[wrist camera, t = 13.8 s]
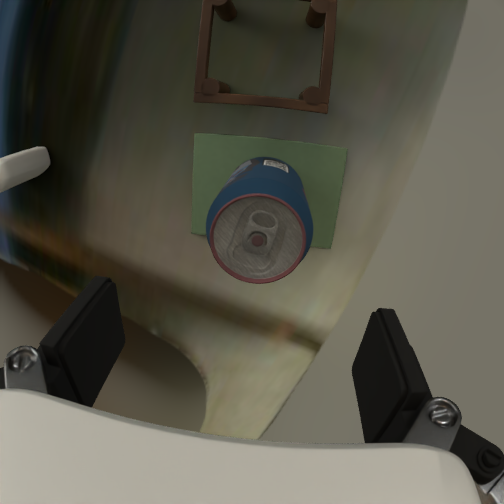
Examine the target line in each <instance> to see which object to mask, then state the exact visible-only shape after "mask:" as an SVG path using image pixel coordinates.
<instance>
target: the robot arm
mask: <svg viewBox="0 0 504 504" xmlns="http://www.w3.org/2000/svg"><path fill="white" fill-rule="evenodd" d="M124 344H125V334H124V329H123V324H122V319H121V313H120V308H119V302H118V296H117V289H116V284H115V283H114V282H112V280H111V279H110V278H107V277H101V276H95V277H94V278H93V279H92V281H91V282H90V283H89V284H88V285H87V286H86V287H85V289H84V290H83V291H82V292H81V293H80V294H79V295H78V297H77V298H76V299H75V300H74V301H73V303H72V304H71V305H70V306H69V307H68V308H67V310H66V311H65V312H64V313H63V314H62V316H61V317H60V318H59V319H58V321H57V322H56V323H55V324H54V326H53V327H52V328H51V329H50V331H49V332H48V333H47V334H46V336H45V337H44V338H43V339H42V341H41V342H40V346H39V347H38V349H36V348H33V347H32V346H20V347H17V348H15V349H13V350H12V351H10V352H9V353H8V354H7V356H6V358H5V360H4V367H3V368H0V504H504V455H503V452H502V451H501V450H500V449H499V448H498V447H497V446H496V445H494V444H493V443H491V442H489V441H488V440H486V439H484V438H482V437H481V436H479V435H477V434H476V433H474V432H473V431H471V430H469V429H468V428H466V427H464V426H463V425H461V419H462V416H461V412H460V410H459V408H458V406H457V405H456V404H455V403H453V402H452V401H451V400H449V399H447V398H444V397H435V398H433V397H432V395H431V392H430V389H429V387H428V384H427V382H426V379H425V377H424V374H423V372H422V369H421V367H420V364H419V362H418V359H417V357H416V355H415V352H414V350H413V348H412V347H411V346H410V344H409V342H408V340H407V338H406V335H405V333H404V330H403V328H402V326H401V324H400V322H399V319H398V317H397V315H396V313H395V311H394V310H393V309H384V308H378V309H377V311H376V312H372V314H371V316H370V320H369V322H368V325H367V328H366V331H365V334H364V336H363V339H362V342H361V344H360V347H359V350H358V352H357V355H356V357H355V360H354V363H353V366H352V376H353V381H354V386H355V390H356V396H357V401H358V406H359V411H360V417H361V423H362V429H363V434H364V440H365V443H362V444H321V443H320V444H319V443H292V442H275V441H263V440H253V439H243V438H234V437H226V436H219V435H212V434H205V433H199V432H193V431H187V430H182V429H176V428H171V427H166V426H161V425H157V424H152V423H148V422H143V421H139V420H135V419H131V418H127V417H123V416H119V415H115V414H112V413H108V412H105V411H101V410H98V409H94V408H92V406H93V404H94V402H95V400H96V398H97V396H98V394H99V392H100V390H101V388H102V386H103V384H104V382H105V381H106V379H107V377H108V375H109V373H110V371H111V369H112V367H113V365H114V363H115V362H116V360H117V358H118V356H119V354H120V352H121V350H122V349H123V347H124Z"/></svg>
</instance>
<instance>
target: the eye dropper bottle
mask: <svg viewBox="0 0 504 504" xmlns="http://www.w3.org/2000/svg"><path fill="white" fill-rule="evenodd" d="M49 165H50V158H49V154H48V151H47V149H46V148H45V147H34V148H31V149H27V150H24V151H21V152H18V153H14V154H11V155H8V156H5V157H2V158H0V193H1V192H3V191H5V190H7V189H9V188H11V187H14V186H16V185H18V184H20V183H23V182H25V181H27V180H30V179H32V178H34V177H37V176H39V175H40V174H42V173H43V172H44V171H45V170H46V169H47V168H48V167H49Z"/></svg>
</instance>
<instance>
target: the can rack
mask: <svg viewBox="0 0 504 504" xmlns="http://www.w3.org/2000/svg"><path fill="white" fill-rule="evenodd" d="M301 1H309V2H311V4H310V7H309V10H308V14H307V17H306V22H307V24H308V25H309V26H310V27H313V28H319V27H321V26H322V25H323V23H324V33H323V45H322V57H321V68H320V79H319V88H318V87H314V86H312V87H308V88H306V89H305V90H304V91H303V92H301V94H300V95H299V100H297V99H288V98H279V97H269V96H257V95H244V94H229V92H230V89H229V87H228V85H227V84H225V83H223V82H220V81H218V80H216V79H213V78H207V77H208V65H209V54H210V43H211V33H212V24H213V15H214V9H215V11H216V12H217V14H218V15H219V16H220V18H221V19H222V20H224V21H231V20H233V19H234V18H235V17H236V15H237V11H236V9H235V7H234V5H233V3H232V0H203V5H202V13H201V22H200V31H199V41H198V52H197V63H196V74H195V87H194V92H195V93H194V102H196V103H223V104H241V105H254V106H266V107H276V108H286V109H294V110H302V111H310V112H317V113H324V114H327V113H328V104H329V96H330V86H331V75H332V65H333V53H334V41H335V27H336V12H337V0H301Z"/></svg>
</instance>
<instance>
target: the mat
mask: <svg viewBox="0 0 504 504" xmlns="http://www.w3.org/2000/svg"><path fill="white" fill-rule="evenodd" d="M347 150H348V149H346V148H340V147H334V146H327V145H320V144H313V143H305V142H297V141H289V140H280V139H271V138H260V137H249V136H237V135H222V134H204V133H195V139H194V160H193V188H192V234H201V235H206V219H207V214H208V211H209V209H210V206H211V204H212V203H213V201H214V200H215V198H216V197H217V195H218V194H219V192H220V191H221V189H222V188H223V186H224V185H225V183H226V182H227V181H228V179H229V178H230V176H231V175H232V173H233V172H234V171H235V169H236V168H237V167H238V166H240V165H241V164H242V163H244V162H246V161H247V160H250V159H252V158H256V157H273V158H277V159H280V160H282V161H284V162H286V163H287V164H289V165H290V166H291V167H292V168H293V169H294V170H295V171H296V172H297V174H298V175H299V177H300V179H301V181H302V184H303V187H304V191H305V194H306V198H307V201H308V205H309V209H310V212H311V216H312V220H313V238H312V242H311V245H310V246H312V247H321V248H330V249H331V245H332V240H333V235H334V229H335V224H336V218H337V213H338V207H339V201H340V195H341V189H342V183H343V177H344V170H345V163H346V157H347Z"/></svg>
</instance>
